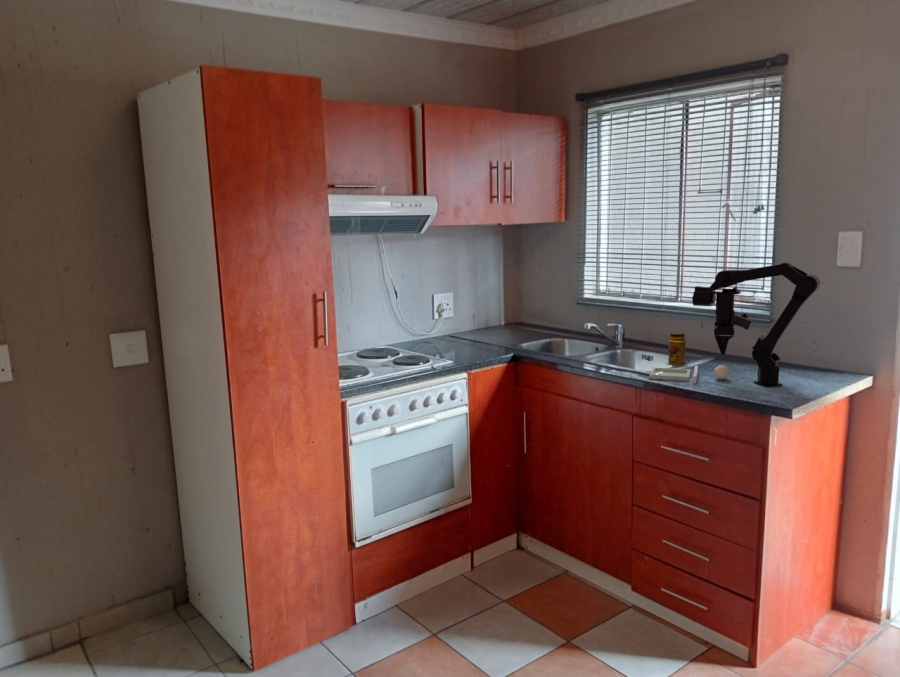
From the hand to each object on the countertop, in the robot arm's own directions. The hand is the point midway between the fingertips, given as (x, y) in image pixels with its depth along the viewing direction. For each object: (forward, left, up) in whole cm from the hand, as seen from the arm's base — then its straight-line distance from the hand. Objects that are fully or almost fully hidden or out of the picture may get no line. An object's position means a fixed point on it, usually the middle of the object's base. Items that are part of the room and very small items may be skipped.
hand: (723, 352), depth 235 cm
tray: (+9, +14, -10) cm, 20 cm away
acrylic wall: (+5, +7, -10) cm, 13 cm away
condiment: (+29, 0, -10) cm, 31 cm away
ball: (0, 0, -7) cm, 7 cm away
